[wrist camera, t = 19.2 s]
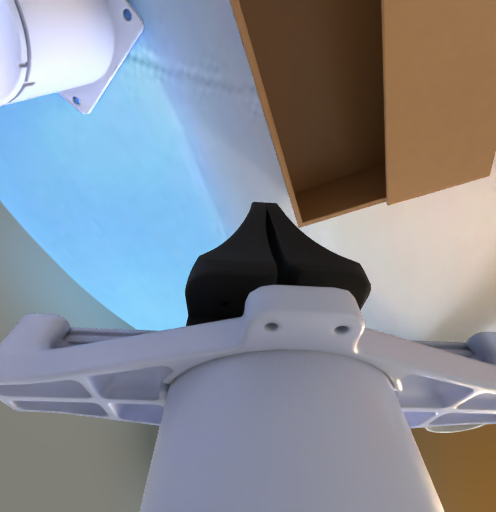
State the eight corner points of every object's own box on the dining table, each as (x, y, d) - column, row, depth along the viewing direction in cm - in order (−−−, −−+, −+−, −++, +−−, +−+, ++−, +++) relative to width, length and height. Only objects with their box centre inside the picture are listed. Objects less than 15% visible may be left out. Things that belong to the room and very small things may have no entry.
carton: (204, -88, 13) (184, -147, 9) (482, -276, 10) (639, -491, 6) (290, 196, 24) (298, 228, 20) (437, 147, 21) (483, 172, 17)
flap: (373, -295, 7) (377, -305, 7) (654, -511, 6) (670, -534, 6) (386, 203, 18) (388, 205, 18) (486, 174, 17) (489, 176, 16)
